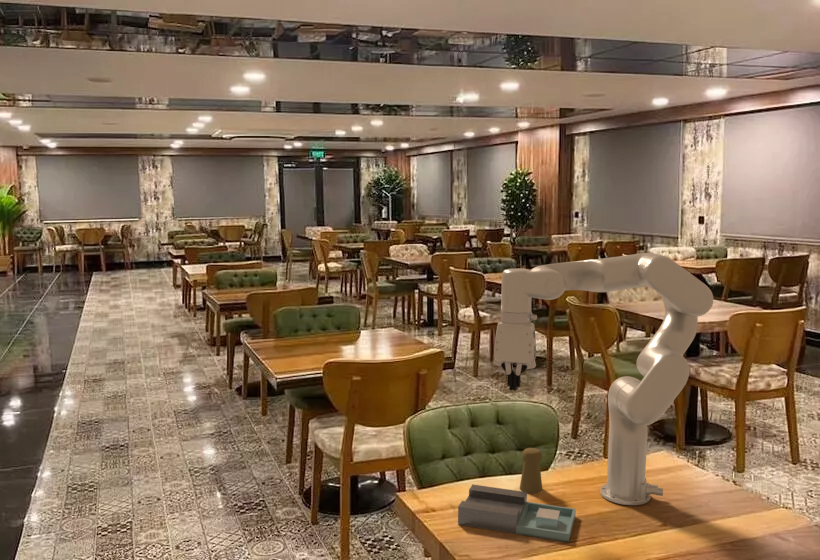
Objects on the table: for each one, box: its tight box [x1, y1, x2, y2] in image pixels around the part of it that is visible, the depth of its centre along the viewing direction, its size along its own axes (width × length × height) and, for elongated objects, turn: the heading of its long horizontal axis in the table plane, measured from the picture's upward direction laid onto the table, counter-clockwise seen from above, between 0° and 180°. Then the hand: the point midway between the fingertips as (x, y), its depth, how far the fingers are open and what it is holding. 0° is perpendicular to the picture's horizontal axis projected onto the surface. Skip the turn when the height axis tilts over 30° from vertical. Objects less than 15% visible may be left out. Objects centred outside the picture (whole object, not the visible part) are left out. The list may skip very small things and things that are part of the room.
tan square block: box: [536, 508, 560, 530], centre depth 173 cm, size 5×5×2 cm
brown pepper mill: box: [519, 447, 543, 495], centre depth 194 cm, size 6×6×11 cm
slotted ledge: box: [457, 484, 528, 535], centre depth 177 cm, size 14×14×4 cm
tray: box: [515, 501, 577, 543], centre depth 173 cm, size 12×14×2 cm
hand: (513, 389), depth 185 cm, fingers closed
